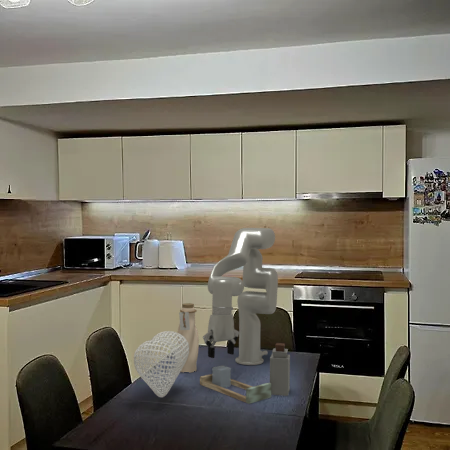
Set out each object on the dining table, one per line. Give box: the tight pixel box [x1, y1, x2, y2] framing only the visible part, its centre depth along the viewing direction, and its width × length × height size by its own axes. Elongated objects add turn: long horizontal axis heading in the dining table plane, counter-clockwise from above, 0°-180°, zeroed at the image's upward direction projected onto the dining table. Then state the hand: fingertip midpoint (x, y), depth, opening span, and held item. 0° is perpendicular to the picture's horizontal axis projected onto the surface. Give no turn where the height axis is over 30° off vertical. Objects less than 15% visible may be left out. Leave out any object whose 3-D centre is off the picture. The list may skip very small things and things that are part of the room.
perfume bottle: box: [269, 342, 291, 397], centre depth 205 cm, size 7×7×18 cm
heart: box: [133, 330, 189, 398], centre depth 198 cm, size 28×16×22 cm, turn 168°
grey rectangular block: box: [211, 365, 232, 389], centre depth 212 cm, size 5×5×7 cm
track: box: [199, 373, 272, 405], centre depth 206 cm, size 11×28×5 cm, turn 40°
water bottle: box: [177, 302, 200, 374], centre depth 232 cm, size 10×9×28 cm
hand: (221, 355), depth 211 cm, fingers open, 9 cm apart
